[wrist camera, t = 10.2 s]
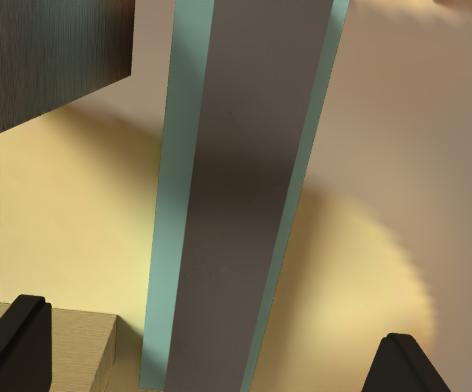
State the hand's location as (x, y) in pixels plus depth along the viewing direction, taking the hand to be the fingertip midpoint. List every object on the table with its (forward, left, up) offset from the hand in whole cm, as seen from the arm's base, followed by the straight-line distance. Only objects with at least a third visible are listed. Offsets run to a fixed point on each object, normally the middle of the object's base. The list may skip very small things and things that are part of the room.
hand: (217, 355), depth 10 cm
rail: (+1, 0, -6) cm, 6 cm away
